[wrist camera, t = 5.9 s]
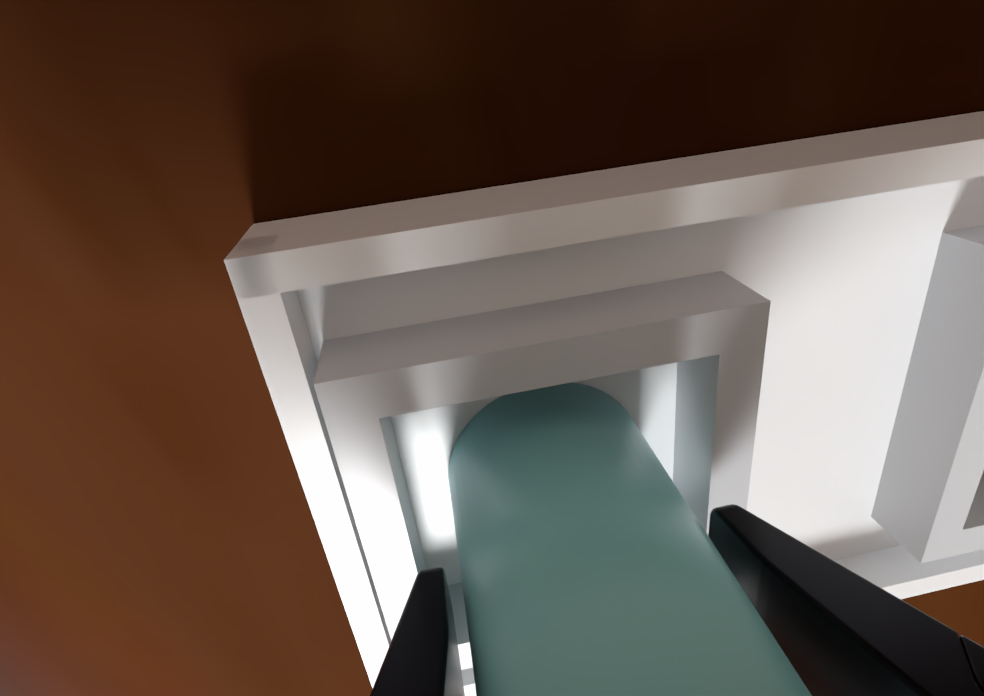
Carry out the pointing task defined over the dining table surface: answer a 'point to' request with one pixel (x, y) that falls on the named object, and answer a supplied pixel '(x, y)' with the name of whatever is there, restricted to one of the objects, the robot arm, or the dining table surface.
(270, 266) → the housing
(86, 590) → the dining table surface
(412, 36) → the dining table surface
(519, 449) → the teal capsule cylinder
